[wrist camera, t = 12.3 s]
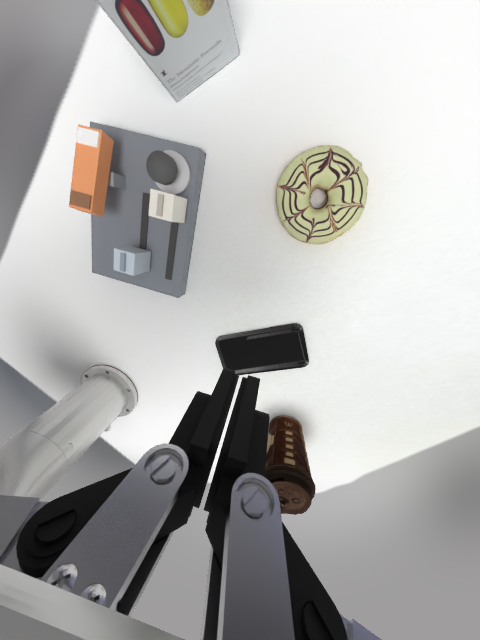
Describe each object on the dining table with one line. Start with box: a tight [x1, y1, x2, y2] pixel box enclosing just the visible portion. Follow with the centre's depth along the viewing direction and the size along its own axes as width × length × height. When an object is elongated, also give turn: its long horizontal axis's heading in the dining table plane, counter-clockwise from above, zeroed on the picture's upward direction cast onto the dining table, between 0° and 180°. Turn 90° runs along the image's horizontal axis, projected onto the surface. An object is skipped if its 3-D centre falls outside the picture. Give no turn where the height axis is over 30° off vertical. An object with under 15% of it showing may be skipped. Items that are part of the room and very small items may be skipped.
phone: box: [215, 324, 309, 375], centre depth 40 cm, size 8×1×15 cm
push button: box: [146, 150, 178, 185], centre depth 27 cm, size 3×3×2 cm
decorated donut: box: [276, 146, 368, 244], centre depth 29 cm, size 10×11×4 cm
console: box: [90, 122, 206, 298], centre depth 33 cm, size 20×15×5 cm
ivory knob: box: [148, 189, 188, 223], centre depth 29 cm, size 3×3×4 cm
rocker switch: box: [69, 125, 114, 217], centre depth 28 cm, size 9×3×2 cm, turn 166°
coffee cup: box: [265, 416, 315, 515], centre depth 39 cm, size 9×8×13 cm
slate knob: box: [114, 246, 151, 276], centre depth 33 cm, size 3×3×4 cm
